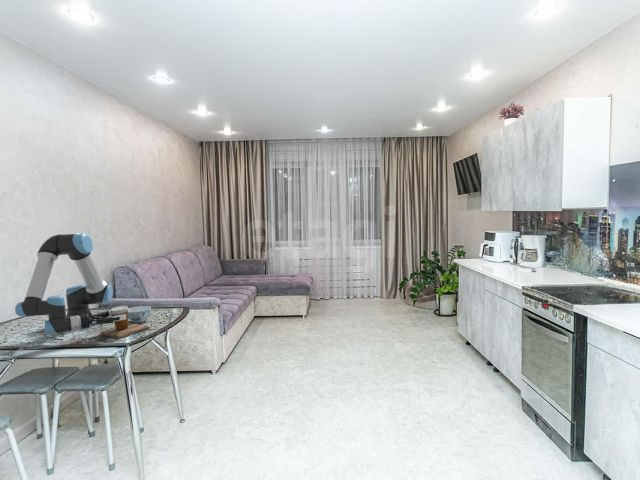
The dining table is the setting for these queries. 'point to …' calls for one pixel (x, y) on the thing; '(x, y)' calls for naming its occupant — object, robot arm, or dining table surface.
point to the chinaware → (138, 313)
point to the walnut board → (125, 331)
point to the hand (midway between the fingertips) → (123, 314)
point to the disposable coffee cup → (120, 311)
